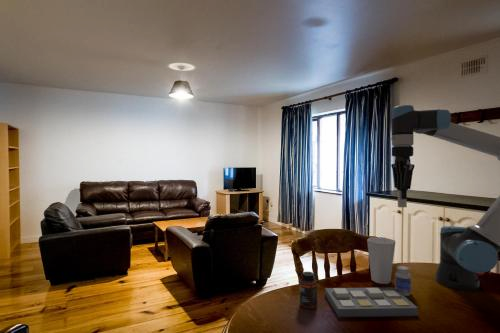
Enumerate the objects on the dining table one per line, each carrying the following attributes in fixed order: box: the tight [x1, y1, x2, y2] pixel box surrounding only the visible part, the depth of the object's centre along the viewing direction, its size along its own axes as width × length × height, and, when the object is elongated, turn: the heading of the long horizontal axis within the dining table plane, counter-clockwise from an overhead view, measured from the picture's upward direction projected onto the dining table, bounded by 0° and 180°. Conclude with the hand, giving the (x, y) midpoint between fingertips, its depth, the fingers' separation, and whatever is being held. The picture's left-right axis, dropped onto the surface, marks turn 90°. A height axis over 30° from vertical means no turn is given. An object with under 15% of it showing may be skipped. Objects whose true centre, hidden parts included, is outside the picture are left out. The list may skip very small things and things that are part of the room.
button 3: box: [349, 291, 366, 298], centre depth 109 cm, size 4×4×2 cm
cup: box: [366, 236, 396, 285], centre depth 129 cm, size 11×10×17 cm
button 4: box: [333, 287, 349, 299], centre depth 109 cm, size 4×4×2 cm
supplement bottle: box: [299, 271, 318, 310], centre depth 107 cm, size 6×6×11 cm
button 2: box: [365, 287, 383, 298], centre depth 109 cm, size 4×4×2 cm
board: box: [324, 286, 419, 318], centre depth 107 cm, size 26×16×3 cm, turn 91°
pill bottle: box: [394, 265, 412, 297], centre depth 117 cm, size 5×5×10 cm
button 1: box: [382, 290, 400, 298], centre depth 110 cm, size 4×4×2 cm
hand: (402, 207), depth 119 cm, fingers closed
